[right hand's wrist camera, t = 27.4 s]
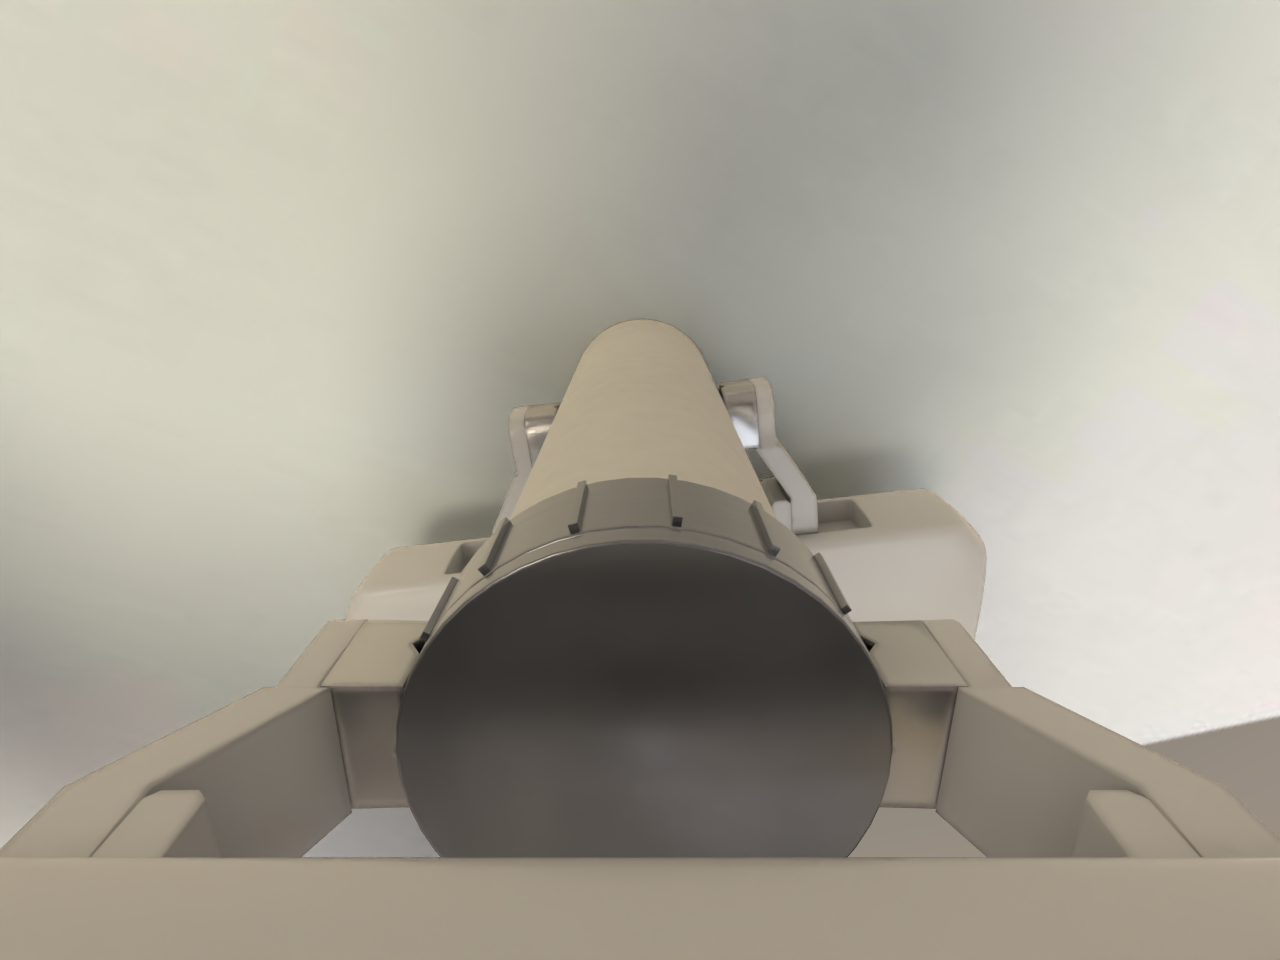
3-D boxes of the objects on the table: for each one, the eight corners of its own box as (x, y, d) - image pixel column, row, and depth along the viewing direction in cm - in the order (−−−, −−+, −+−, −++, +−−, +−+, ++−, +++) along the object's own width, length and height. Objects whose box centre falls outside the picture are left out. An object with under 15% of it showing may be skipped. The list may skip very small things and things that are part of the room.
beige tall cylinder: (547, 381, 27) (361, 697, 9) (648, 289, 26) (663, 443, 8) (636, 475, 28) (628, 917, 10) (736, 392, 27) (921, 726, 9)
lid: (495, 415, 9) (456, 465, 7) (920, 548, 9) (987, 627, 8) (399, 771, 11) (349, 885, 9) (759, 862, 11) (781, 988, 9)
